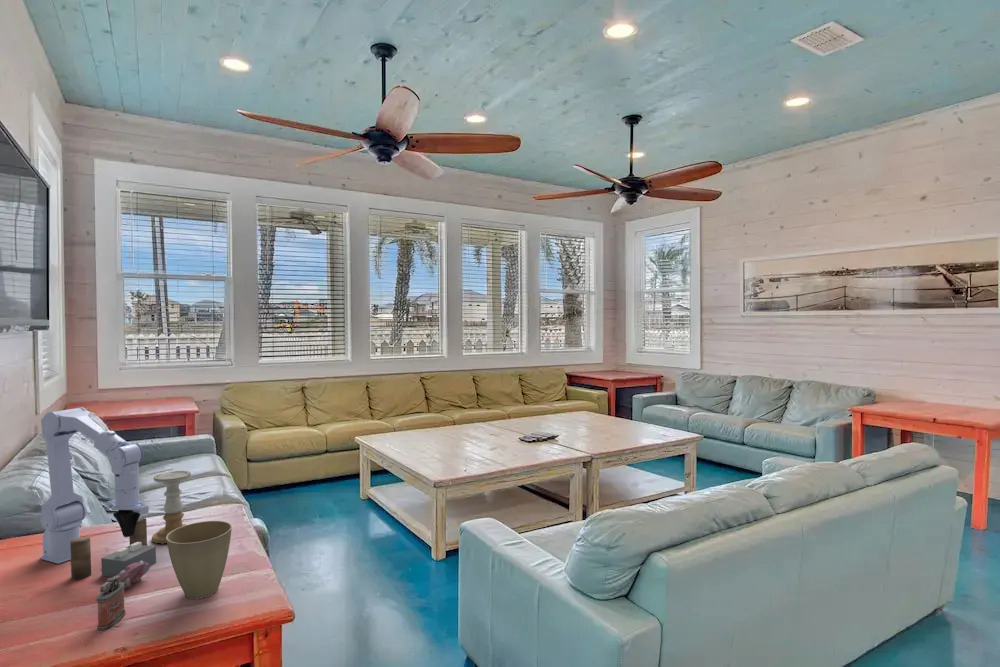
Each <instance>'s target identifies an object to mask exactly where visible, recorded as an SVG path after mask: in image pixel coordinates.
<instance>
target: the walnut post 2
mask: <svg viewBox="0 0 1000 667" xmlns="http://www.w3.org/2000/svg"><path fill="white" fill-rule="evenodd" d="M147 528H148V527H147V518H145V517H139V519H138V521H137V524H136V527H135V531H134V535H132V536H129V537H128V538H129V539H128V541H129V546H130V545H131V544H133V543H136V542H142V545H146V546H148V536H147V535H148V531H147V530H148V529H147Z"/></svg>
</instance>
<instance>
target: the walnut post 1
mask: <svg viewBox="0 0 1000 667" xmlns="http://www.w3.org/2000/svg"><path fill="white" fill-rule="evenodd" d="M70 551H71V559H70V573H71V575H70V576H71V580H72V581H73V580H74V581H77V580H78V581H79V580H83V579H86V578H88V577H90V576H91V575H92V557H91V556H92V550H91V537H90V536H82V537H81V536H80V538H76V539H74V540H72V541H70Z"/></svg>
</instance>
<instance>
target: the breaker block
mask: <svg viewBox="0 0 1000 667" xmlns="http://www.w3.org/2000/svg"><path fill="white" fill-rule="evenodd" d="M156 548H157V547H156V546H152V545H147V546H146V545H142V542H136V543H133V544H131V545H130V544H129V546H126V547H122V548H120V549H118V550H116V551H114V552H112V553H111V554H108V555H106V556H103V557H101V576H104V577H110V578H113V577H114V576H116V575H117V574H118V573H120V572H121V571H122V570H124V569H125V568H126V567H127V566H128V565H130V564H132V563H139V562H140V561H141V560H142V561H143V562H147V563H148V564H150V567H151V566H154V565H155V564H156V563H157V549H156Z"/></svg>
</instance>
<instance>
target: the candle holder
mask: <svg viewBox="0 0 1000 667" xmlns="http://www.w3.org/2000/svg"><path fill="white" fill-rule="evenodd" d="M191 476H192V474H191V471H188V470H175V471H174V470H172V471H167V472H161V473H158V474H156V475H155V476H153V481H154V482H155V483H159V484H161V483H162V484H163V485H164V486H165V488H166V490H165V492H164V493H163V496H164V497H165V502H164V506H163V509H162V510H163V511H164V513H165V514H164V515H163V516H162V519H163V520H164V521H165V526H164V527H162V528H160V529H159V530H158V531H156V532H154V534H153V535H152V537H151V541H152V542H153V543H154V542H155V543H154V544H157V543H161V544H160V545H165V544H164V543H167V541H166V536H167V535H168V534H169V533H170V532H171V531H173V530H175V529H177V528H179V527H182V526H185V525H187V524H184V523H183V520H182V519H183V517H184V516H185V513H184V512H182V510H183V509H184V504H183V501H182V500H181V499H182V498H181V494H182V493H183V490H181V489H180V485H181V483H182V482H183V481H184V480H186V479H189V478H190V477H191Z"/></svg>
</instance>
